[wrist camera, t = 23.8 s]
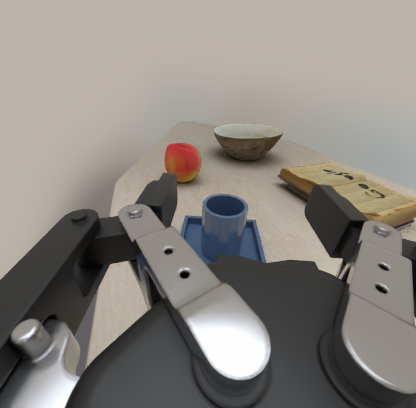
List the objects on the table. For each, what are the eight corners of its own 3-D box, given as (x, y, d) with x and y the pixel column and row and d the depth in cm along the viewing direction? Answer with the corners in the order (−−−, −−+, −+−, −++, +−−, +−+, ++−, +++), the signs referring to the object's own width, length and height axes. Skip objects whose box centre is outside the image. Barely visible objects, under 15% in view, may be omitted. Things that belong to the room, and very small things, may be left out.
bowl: (198, 156, 74) (199, 127, 68) (232, 143, 90) (235, 119, 85) (259, 174, 62) (266, 140, 57) (285, 155, 79) (292, 128, 74)
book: (413, 224, 43) (431, 200, 40) (363, 243, 37) (379, 216, 34) (317, 177, 62) (324, 158, 59) (273, 185, 56) (278, 164, 53)
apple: (186, 191, 51) (186, 151, 45) (157, 181, 55) (154, 144, 49) (206, 178, 58) (208, 142, 53) (179, 170, 62) (179, 136, 56)
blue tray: (171, 281, 28) (171, 271, 27) (185, 223, 40) (185, 215, 39) (267, 288, 28) (270, 278, 27) (253, 228, 39) (255, 219, 38)
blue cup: (199, 262, 31) (201, 216, 26) (202, 234, 36) (204, 192, 32) (241, 265, 31) (250, 219, 26) (238, 237, 36) (245, 195, 32)
